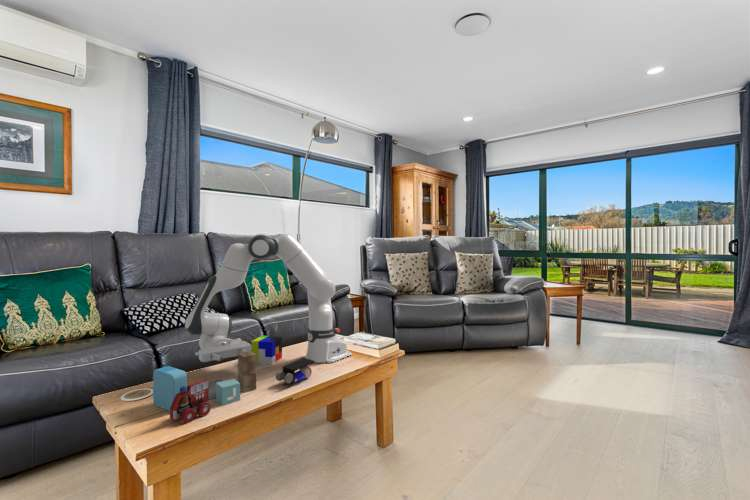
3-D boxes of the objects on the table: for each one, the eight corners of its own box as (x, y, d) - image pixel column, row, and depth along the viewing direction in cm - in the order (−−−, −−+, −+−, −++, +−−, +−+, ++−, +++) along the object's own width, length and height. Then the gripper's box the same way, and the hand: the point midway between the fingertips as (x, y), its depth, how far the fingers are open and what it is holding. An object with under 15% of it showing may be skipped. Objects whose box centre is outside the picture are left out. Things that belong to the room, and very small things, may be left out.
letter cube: (233, 395, 130) (233, 378, 130) (240, 400, 126) (240, 383, 126) (215, 399, 126) (215, 382, 126) (222, 405, 122) (222, 387, 122)
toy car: (288, 393, 135) (316, 376, 148) (286, 374, 134) (314, 358, 147) (275, 389, 139) (303, 373, 152) (274, 370, 138) (302, 355, 151)
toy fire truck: (164, 422, 110) (164, 387, 110) (202, 406, 121) (202, 375, 121) (176, 428, 107) (176, 392, 107) (215, 412, 117) (215, 379, 117)
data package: (187, 407, 120) (187, 371, 120) (173, 413, 116) (173, 375, 116) (166, 399, 126) (166, 364, 126) (152, 404, 122) (152, 368, 122)
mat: (220, 380, 144) (220, 379, 144) (237, 392, 132) (237, 391, 132) (193, 386, 137) (193, 385, 137) (208, 400, 126) (208, 399, 126)
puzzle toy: (271, 364, 163) (272, 342, 163) (251, 363, 165) (251, 340, 165) (281, 357, 173) (282, 336, 173) (262, 356, 175) (262, 335, 175)
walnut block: (249, 385, 139) (249, 351, 139) (256, 389, 135) (256, 354, 135) (238, 388, 136) (238, 353, 136) (244, 392, 132) (244, 356, 132)
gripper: (193, 345, 147) (205, 353, 137) (243, 337, 161) (257, 344, 151) (193, 360, 148) (205, 369, 137) (243, 351, 162) (257, 359, 151)
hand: (233, 356), depth 145 cm, fingers open, 8 cm apart
